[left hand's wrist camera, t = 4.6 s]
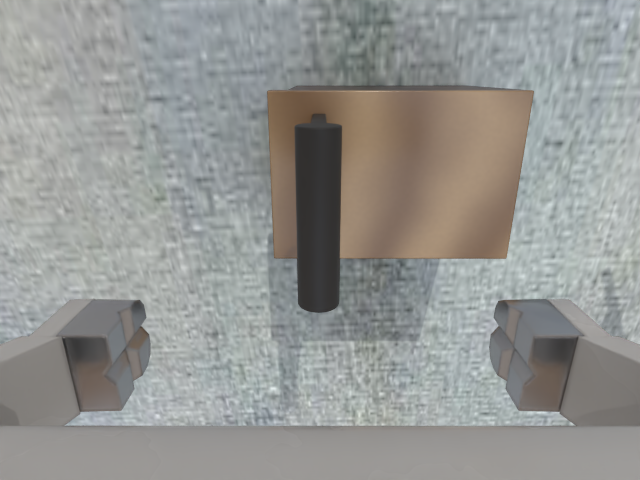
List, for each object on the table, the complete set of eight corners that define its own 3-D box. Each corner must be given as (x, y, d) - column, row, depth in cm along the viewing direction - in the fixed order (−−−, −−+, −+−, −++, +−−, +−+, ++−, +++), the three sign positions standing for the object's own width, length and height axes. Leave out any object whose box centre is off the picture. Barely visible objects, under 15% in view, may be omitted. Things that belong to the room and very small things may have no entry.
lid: (275, 251, 27) (254, 333, 18) (269, 90, 23) (239, 98, 15) (499, 251, 27) (582, 334, 18) (524, 89, 23) (641, 98, 15)
